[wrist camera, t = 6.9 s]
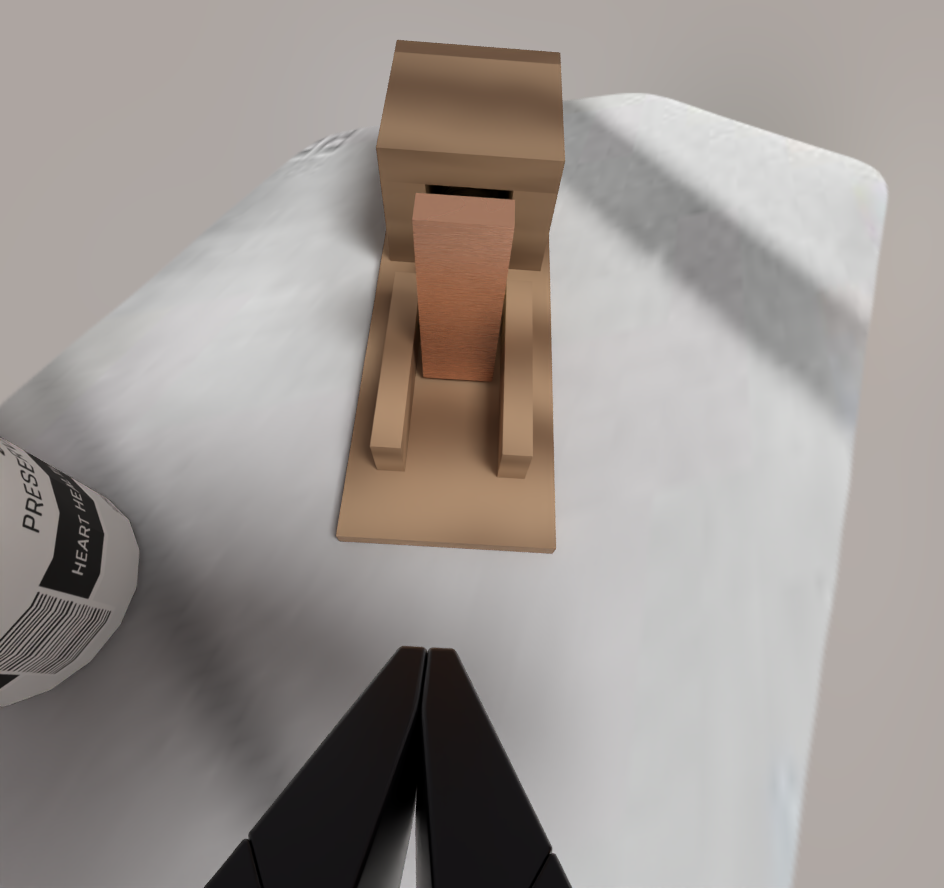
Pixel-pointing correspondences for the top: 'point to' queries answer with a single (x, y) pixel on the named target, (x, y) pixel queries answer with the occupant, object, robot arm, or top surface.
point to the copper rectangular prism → (461, 278)
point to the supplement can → (56, 574)
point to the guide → (522, 322)
